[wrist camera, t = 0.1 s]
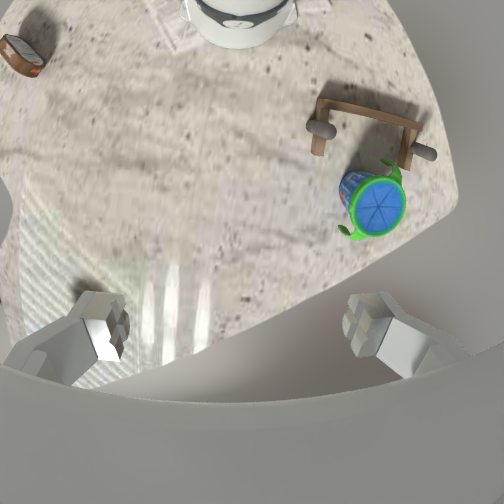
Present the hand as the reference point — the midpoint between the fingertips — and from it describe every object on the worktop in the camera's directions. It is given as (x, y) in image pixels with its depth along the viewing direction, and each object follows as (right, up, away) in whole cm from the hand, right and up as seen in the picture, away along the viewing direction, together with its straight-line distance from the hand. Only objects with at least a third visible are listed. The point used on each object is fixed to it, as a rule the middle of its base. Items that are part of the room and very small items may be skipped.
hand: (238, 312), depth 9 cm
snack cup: (+20, +14, +39) cm, 46 cm away
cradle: (+21, +23, +34) cm, 46 cm away
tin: (-42, +40, +17) cm, 60 cm away
